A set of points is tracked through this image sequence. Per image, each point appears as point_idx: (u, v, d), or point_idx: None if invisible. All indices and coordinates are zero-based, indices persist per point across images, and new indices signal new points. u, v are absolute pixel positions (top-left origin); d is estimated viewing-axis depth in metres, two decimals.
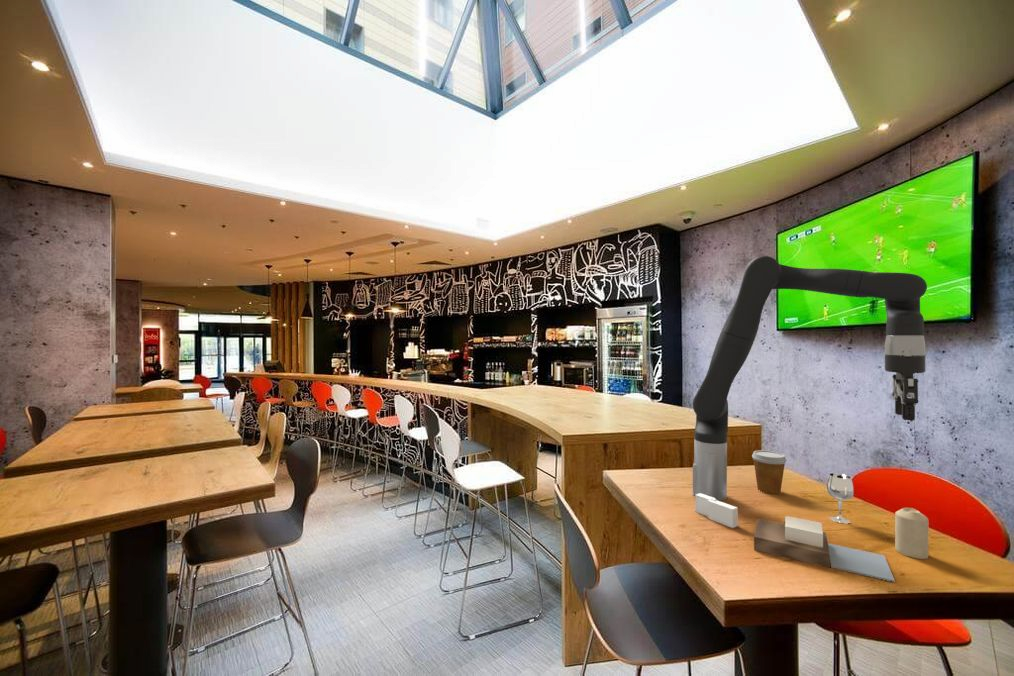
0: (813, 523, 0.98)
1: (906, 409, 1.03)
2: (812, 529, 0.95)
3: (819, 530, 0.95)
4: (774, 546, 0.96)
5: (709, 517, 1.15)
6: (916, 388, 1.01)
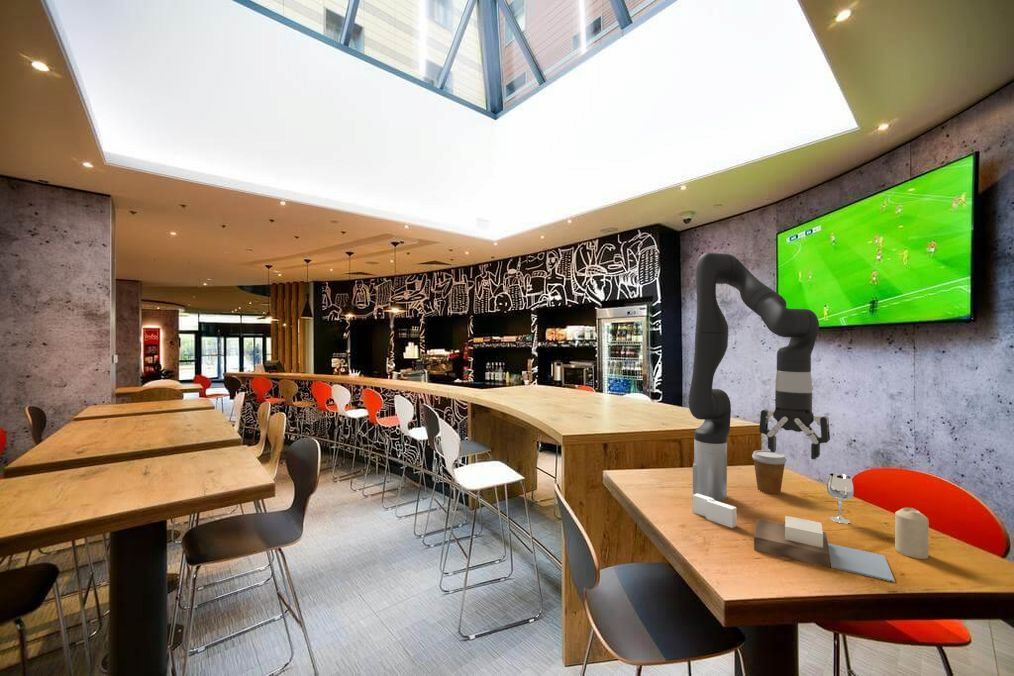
0: (813, 523, 0.98)
1: (818, 448, 1.00)
2: (812, 529, 0.95)
3: (819, 530, 0.95)
4: (774, 546, 0.96)
5: (708, 517, 1.15)
6: None
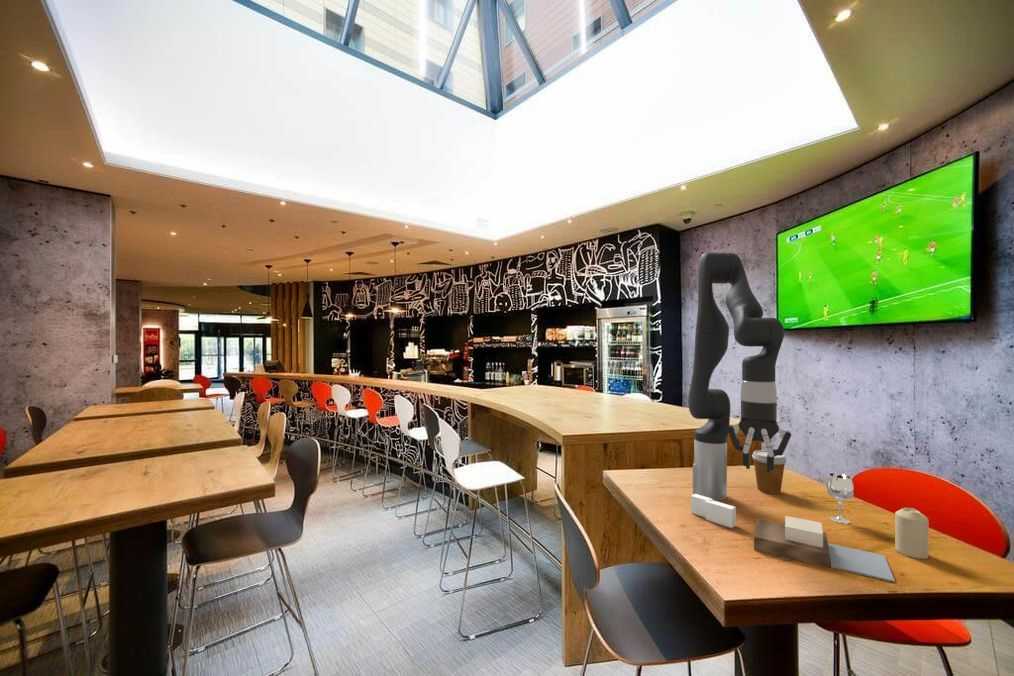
0: (813, 523, 0.98)
1: (773, 461, 1.01)
2: (812, 529, 0.95)
3: (819, 530, 0.95)
4: (774, 546, 0.96)
5: (707, 518, 1.14)
6: None
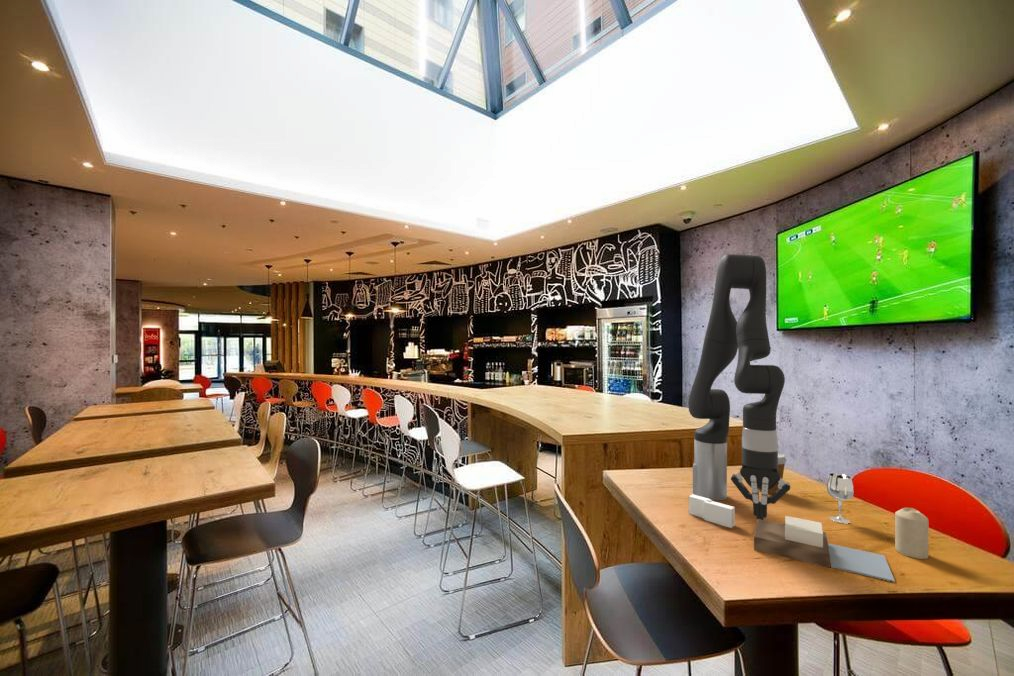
0: (813, 523, 0.98)
1: (766, 509, 1.01)
2: (812, 529, 0.95)
3: (819, 530, 0.95)
4: (774, 546, 0.96)
5: (705, 518, 1.14)
6: None
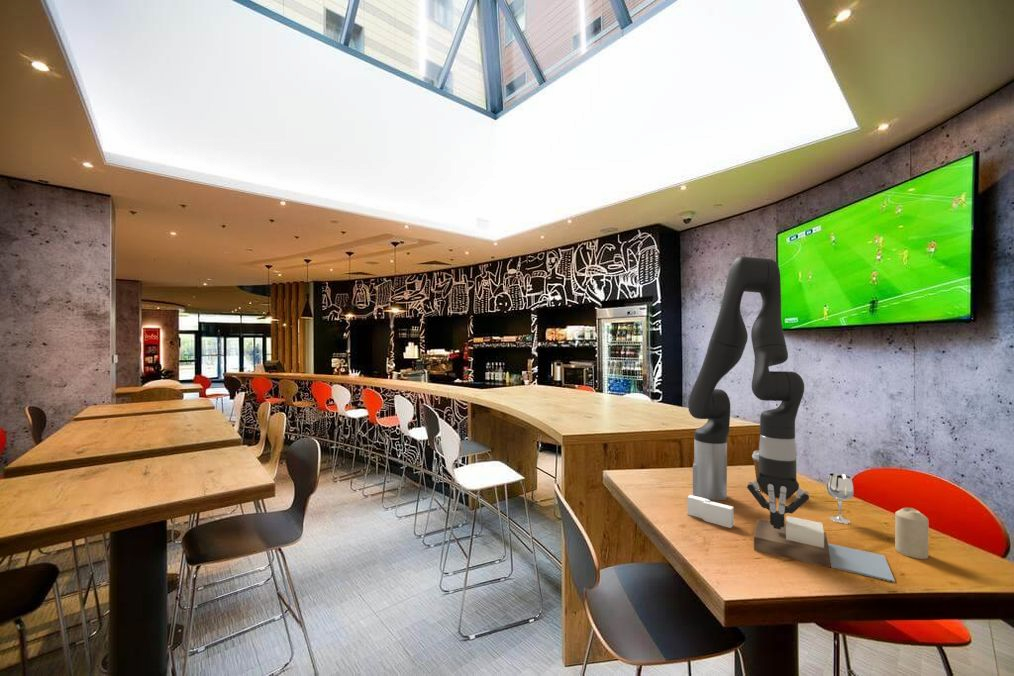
0: (814, 523, 0.98)
1: None
2: (813, 529, 0.95)
3: (820, 531, 0.95)
4: (774, 546, 0.96)
5: (705, 519, 1.14)
6: None
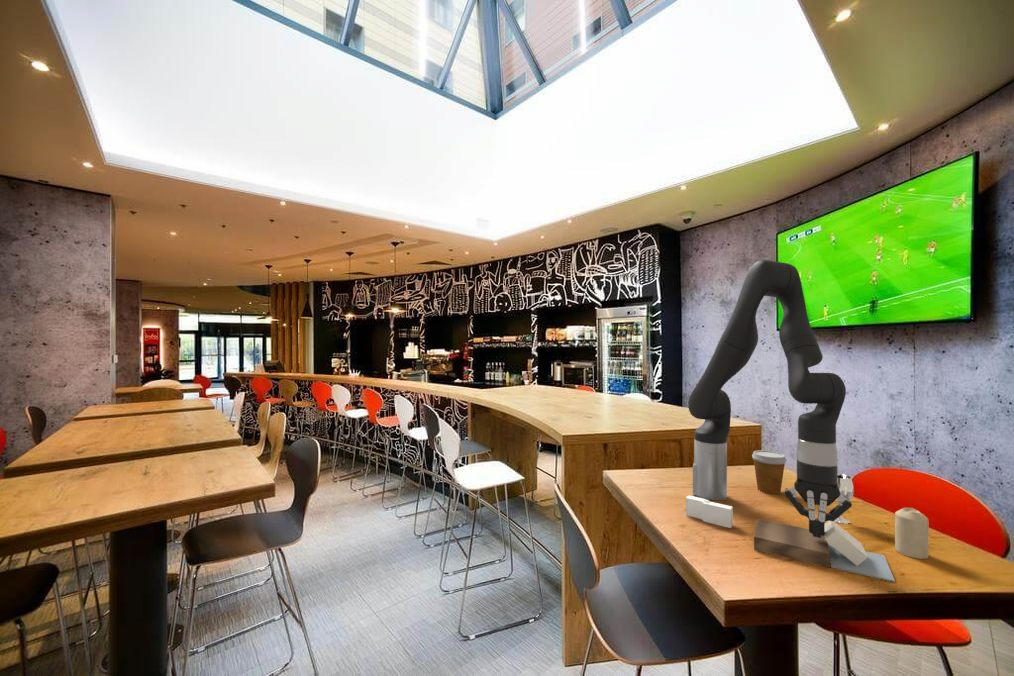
0: (855, 540, 0.95)
1: None
2: (858, 547, 0.92)
3: (863, 551, 0.91)
4: (774, 546, 0.96)
5: (704, 519, 1.13)
6: None
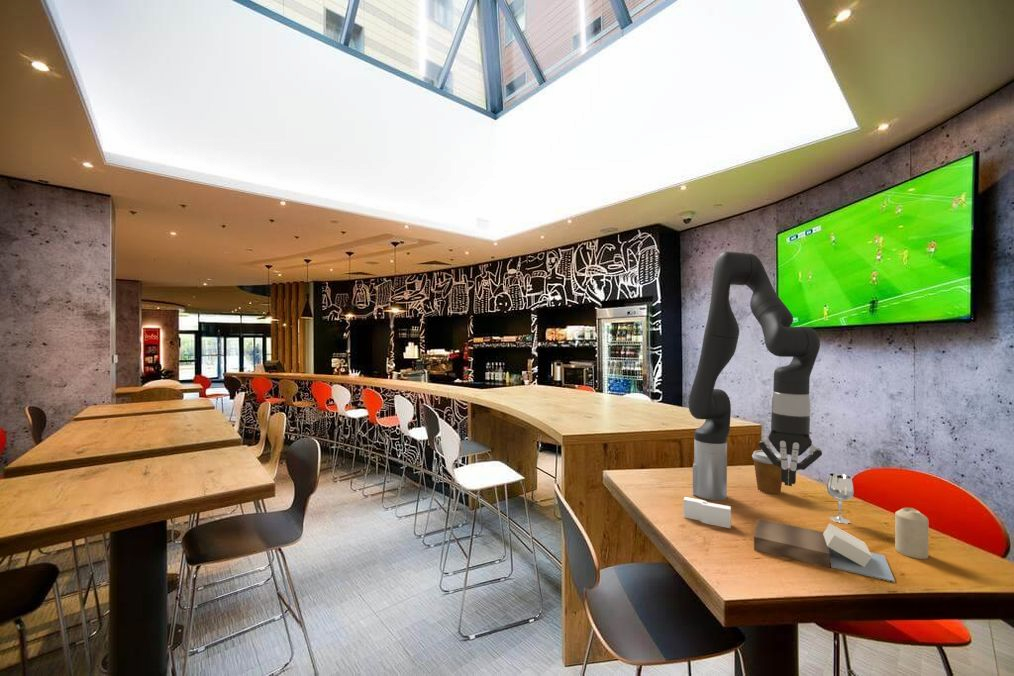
0: (858, 540, 0.95)
1: (795, 475, 0.98)
2: (860, 547, 0.92)
3: (867, 551, 0.91)
4: (774, 546, 0.96)
5: (703, 521, 1.13)
6: None
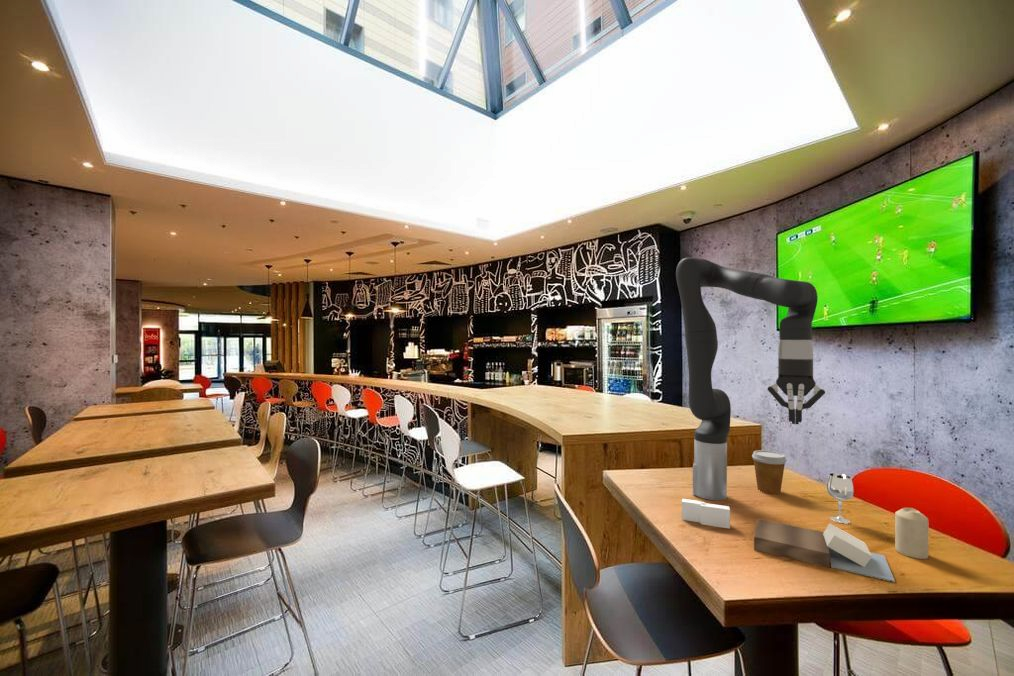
0: (858, 540, 0.95)
1: (801, 414, 1.09)
2: (860, 547, 0.92)
3: (867, 551, 0.91)
4: (774, 546, 0.96)
5: (702, 522, 1.12)
6: None
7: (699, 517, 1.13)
